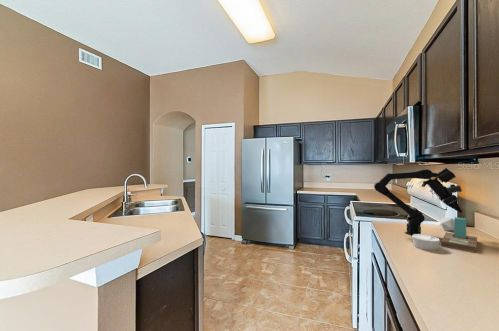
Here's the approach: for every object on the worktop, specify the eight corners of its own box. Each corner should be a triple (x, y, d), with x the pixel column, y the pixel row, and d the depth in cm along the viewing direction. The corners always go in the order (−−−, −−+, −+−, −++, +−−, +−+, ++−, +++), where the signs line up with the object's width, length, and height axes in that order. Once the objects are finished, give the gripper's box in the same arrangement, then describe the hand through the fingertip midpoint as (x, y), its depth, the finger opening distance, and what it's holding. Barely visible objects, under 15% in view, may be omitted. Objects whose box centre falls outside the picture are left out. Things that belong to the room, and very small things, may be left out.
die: (454, 234, 144) (463, 221, 144) (438, 225, 148) (447, 213, 149) (450, 235, 151) (458, 223, 151) (435, 227, 155) (443, 215, 156)
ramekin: (444, 252, 114) (444, 241, 114) (418, 250, 116) (418, 240, 116) (431, 244, 125) (431, 234, 125) (408, 243, 127) (408, 233, 127)
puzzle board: (476, 252, 113) (476, 247, 113) (441, 246, 122) (441, 241, 122) (477, 241, 128) (477, 236, 128) (446, 236, 137) (445, 232, 137)
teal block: (465, 243, 126) (465, 219, 126) (454, 241, 129) (454, 218, 129) (466, 241, 129) (466, 218, 129) (455, 239, 132) (455, 217, 132)
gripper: (455, 180, 126) (480, 205, 121) (449, 178, 142) (470, 200, 137) (434, 192, 130) (457, 216, 125) (430, 189, 146) (450, 211, 141)
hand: (459, 210), depth 132 cm, fingers open, 9 cm apart
